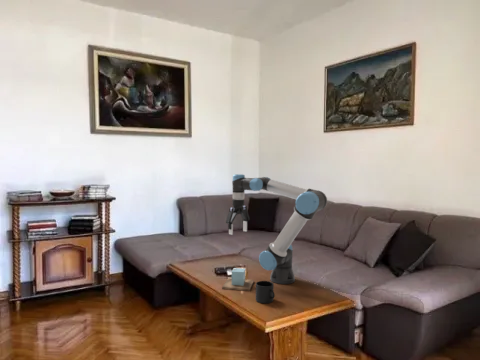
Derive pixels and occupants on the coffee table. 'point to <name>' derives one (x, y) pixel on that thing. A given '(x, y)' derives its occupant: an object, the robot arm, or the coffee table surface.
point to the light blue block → (238, 276)
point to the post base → (245, 287)
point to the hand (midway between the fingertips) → (238, 233)
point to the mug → (264, 292)
